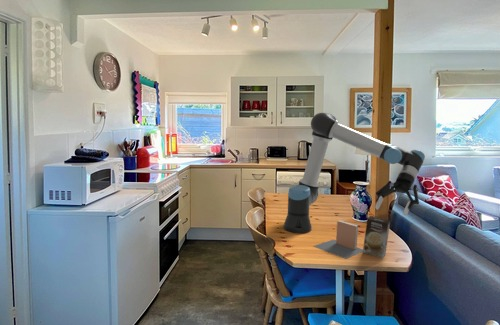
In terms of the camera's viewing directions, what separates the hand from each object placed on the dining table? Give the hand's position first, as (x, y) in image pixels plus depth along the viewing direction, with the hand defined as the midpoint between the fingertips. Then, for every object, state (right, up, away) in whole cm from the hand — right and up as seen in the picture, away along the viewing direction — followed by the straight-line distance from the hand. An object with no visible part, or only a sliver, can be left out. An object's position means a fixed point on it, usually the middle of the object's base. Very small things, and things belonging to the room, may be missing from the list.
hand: (390, 211), depth 156 cm
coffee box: (-9, -19, -5) cm, 21 cm away
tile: (-20, -17, +3) cm, 26 cm away
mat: (-24, -18, -1) cm, 30 cm away
